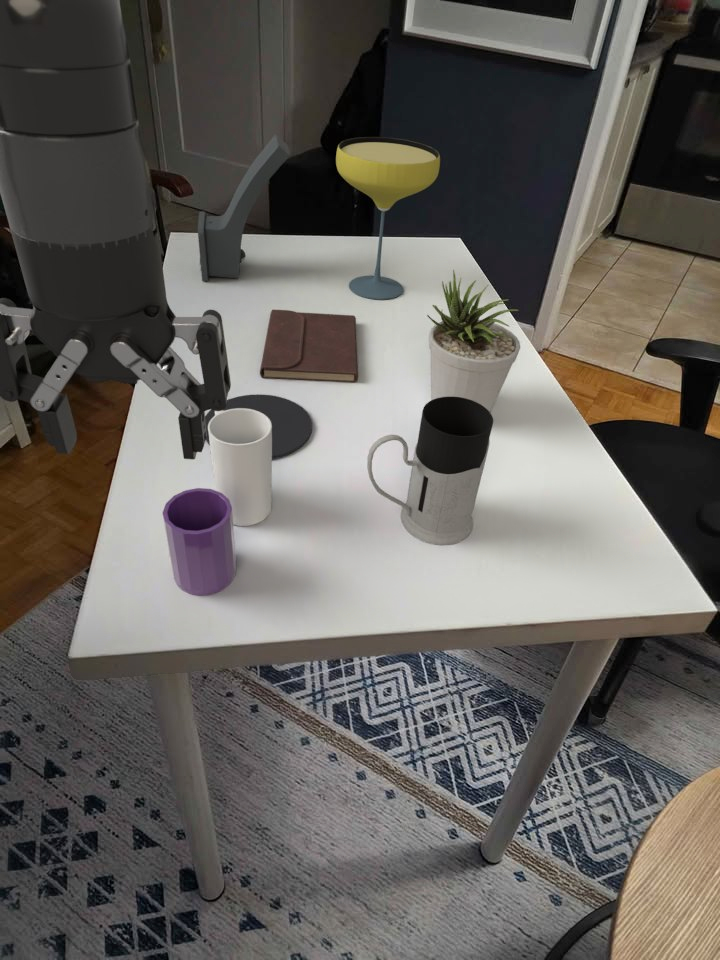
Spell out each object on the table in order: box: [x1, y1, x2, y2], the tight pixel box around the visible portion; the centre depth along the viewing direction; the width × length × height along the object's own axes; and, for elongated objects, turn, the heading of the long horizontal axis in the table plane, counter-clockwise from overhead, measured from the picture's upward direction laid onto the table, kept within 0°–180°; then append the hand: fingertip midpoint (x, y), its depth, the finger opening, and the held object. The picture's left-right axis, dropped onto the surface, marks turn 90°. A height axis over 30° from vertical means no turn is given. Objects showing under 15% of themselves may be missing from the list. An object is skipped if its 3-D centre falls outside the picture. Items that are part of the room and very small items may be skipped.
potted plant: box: [426, 269, 521, 413], centre depth 90 cm, size 13×14×20 cm
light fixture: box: [197, 134, 291, 282], centre depth 121 cm, size 11×17×24 cm, turn 99°
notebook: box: [259, 309, 359, 383], centre depth 106 cm, size 15×20×2 cm
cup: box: [162, 487, 237, 596], centre depth 66 cm, size 6×6×9 cm
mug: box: [208, 408, 273, 527], centre depth 74 cm, size 10×7×12 cm, turn 35°
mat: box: [205, 393, 313, 460], centre depth 89 cm, size 15×15×1 cm
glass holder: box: [366, 396, 494, 546], centre depth 72 cm, size 9×14×15 cm, turn 111°
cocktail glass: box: [335, 136, 441, 301], centre depth 119 cm, size 18×18×25 cm
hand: (130, 449), depth 45 cm, fingers open, 8 cm apart
